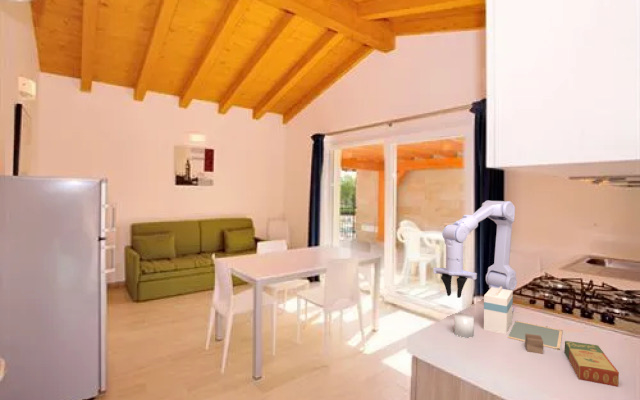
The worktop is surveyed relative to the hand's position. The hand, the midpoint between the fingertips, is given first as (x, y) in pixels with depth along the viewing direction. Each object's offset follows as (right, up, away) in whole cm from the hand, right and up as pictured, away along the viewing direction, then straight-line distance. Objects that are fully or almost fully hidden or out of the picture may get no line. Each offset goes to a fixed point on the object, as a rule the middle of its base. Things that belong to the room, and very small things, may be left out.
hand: (454, 296), depth 122 cm
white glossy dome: (0, -11, -7) cm, 13 cm away
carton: (+25, -12, -29) cm, 40 cm away
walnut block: (+17, -11, -19) cm, 28 cm away
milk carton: (+15, -10, -1) cm, 19 cm away
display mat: (+24, -11, -8) cm, 28 cm away
